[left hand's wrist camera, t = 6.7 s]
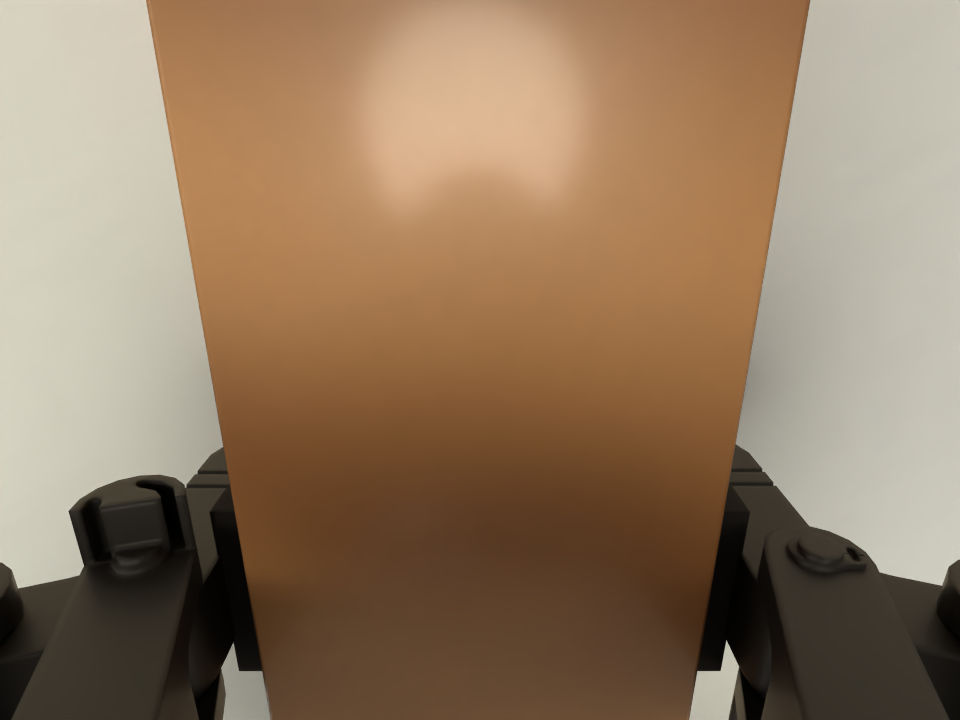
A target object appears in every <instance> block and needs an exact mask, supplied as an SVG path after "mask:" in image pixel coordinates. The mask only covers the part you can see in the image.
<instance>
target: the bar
mask: <svg viewBox="0 0 960 720" xmlns="http://www.w3.org/2000/svg"><path fill="white" fill-rule="evenodd" d="M146 2H147V8H148V14H149V19H150V25H151V31H152V37H153V42H154V48H155V54H156V60H157V66H158V71H159V77H160V83H161V89H162V94H163V100H164V106H165V112H166V118H167V123H168V129H169V135H170V141H171V146H172V152H173V158H174V164H175V169H176V175H177V181H178V187H179V193H180V198H181V204H182V210H183V216H184V221H185V227H186V233H187V239H188V245H189V250H190V256H191V262H192V268H193V273H194V279H195V285H196V291H197V296H198V302H199V308H200V314H201V320H202V325H203V331H204V337H205V343H206V348H207V354H208V360H209V366H210V372H211V377H212V383H213V389H214V395H215V400H216V406H217V412H218V418H219V424H220V429H221V435H222V441H223V447H224V452H225V458H226V464H227V470H228V475H229V481H230V487H231V493H232V499H233V504H234V510H235V516H236V522H237V527H238V533H239V539H240V545H241V551H242V556H243V562H244V568H245V574H246V579H247V585H248V591H249V597H250V603H251V608H252V614H253V620H254V626H255V631H256V637H257V643H258V649H259V654H260V660H261V666H262V672H263V678H264V683H265V689H266V695H267V701H268V706H269V712H270V718H271V720H689V717H690V711H691V705H692V699H693V693H694V687H695V681H696V675H697V669H698V663H699V657H700V651H701V645H702V639H703V634H704V628H705V622H706V616H707V610H708V604H709V598H710V592H711V586H712V580H713V574H714V568H715V562H716V556H717V550H718V544H719V539H720V533H721V527H722V521H723V515H724V509H725V503H726V497H727V491H728V485H729V479H730V473H731V467H732V461H733V455H734V449H735V444H736V438H737V432H738V426H739V420H740V414H741V408H742V402H743V396H744V390H745V384H746V378H747V372H748V366H749V360H750V354H751V349H752V343H753V337H754V331H755V325H756V319H757V313H758V307H759V301H760V295H761V289H762V283H763V277H764V271H765V265H766V259H767V254H768V248H769V242H770V236H771V230H772V224H773V218H774V212H775V206H776V200H777V194H778V188H779V182H780V176H781V170H782V164H783V158H784V153H785V147H786V141H787V135H788V129H789V123H790V117H791V111H792V105H793V99H794V93H795V87H796V81H797V75H798V69H799V63H800V58H801V52H802V46H803V40H804V34H805V28H806V22H807V16H808V10H809V4H810V0H146Z"/></svg>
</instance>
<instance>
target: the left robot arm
mask: <svg viewBox="0 0 960 720" xmlns="http://www.w3.org/2000/svg"><path fill="white" fill-rule="evenodd" d="M69 514H70V518H71V521H72V525H73V528H74V532H75V535H76V539H77V542H78V546H79V549H80V553H81V556H82V560H83V564H84V567H83V570H82V572H81V574H80V575H79V576H75V577H72V578H68V579H63V580H58V581H53V582H48V583H44V584H39V585H34V586H29V587H24V588H19V589H18V587H17V585H16V582H15V579H14V576H13V573H12V570H11V569H10V568H8V567H7V566H6V565H4V564H3V563H0V720H223V713H224V704H225V696H226V693H225V686H224V680H223V675H222V670H221V667H222V665H223V663H224V661H225V659H226V657H227V655H228V652H229V650H230V648H231V646H232V644H233V642H234V646H235V652H236V657H237V662H238V668H239V671H262V666H261V660H260V654H259V649H258V643H257V637H256V631H255V626H254V620H253V614H252V608H251V603H250V597H249V591H248V585H247V579H246V574H245V568H244V562H243V556H242V551H241V545H240V539H239V533H238V527H237V522H236V516H235V510H234V504H233V499H232V493H231V487H230V481H229V475H228V470H227V464H226V458H225V452H224V447H223V448H221V449H220V450H218V451H216V452H215V453H213V454H212V455H211V456H210V457H209V458H208V459H207V460H206V462H205V463H204V464H203V465H202V467H201V468H200V469H199V470H198V474H195V475H194V476H193V478H192V479H191V480H190V481H189V483H188V484H187V488H185V486H184V484H183V483H181V482H180V481H179V480H177V479H176V478H173V477H168V476H163V475H145V476H136V477H132V478H127V479H123V480H118V481H116V482H113V483H110V484H108V485H105V486H103V487H100V488H97V489H96V490H94V491H92V492H91V493H89V494H88V495H86V496H84V497H83V498H81V499H80V500H79V501H78V502H77V503H76V504H75V505H74V506H73V507H72V508H71V509H70V510H69ZM726 640H727V642H728V644H729V646H730V648H731V650H732V652H733V654H734V657H735V659H736V661H737V663H738V665H739V670H738V675H737V680H736V685H735V690H734V695H733V700H732V705H731V710H730V715H729V720H960V560H958V561H956V562H955V563H954V564H952V565H951V566H949V568H948V571H947V574H946V577H945V580H944V583H943V586H940V585H935V584H930V583H925V582H920V581H915V580H910V579H905V578H900V577H896V576H891V575H887V574H883V573H880V572H879V571H878V568H877V566H876V565H875V563H874V562H873V561H872V560H871V558H870V557H869V556H868V554H867V553H866V552H865V551H863V550H862V549H861V548H859V547H858V546H856V545H855V544H854V543H852V542H851V541H849V540H847V539H845V538H843V537H841V536H838V535H836V534H834V533H832V532H830V531H826V530H822V529H818V528H814V527H810V526H809V525H808V524H807V523H806V522H805V521H804V519H803V518H802V517H801V516H800V515H799V513H798V512H797V511H796V510H795V508H794V507H793V506H792V505H791V504H790V502H789V501H788V500H787V499H786V497H785V496H784V495H783V494H782V493H781V491H780V490H779V489H778V488H777V486H773V482H772V480H771V479H770V478H769V477H768V476H767V474H766V473H765V472H762V468H761V467H760V466H759V465H758V463H757V462H756V461H755V460H754V458H753V457H752V456H751V455H750V454H749V453H748V452H747V451H745V450H744V449H742V448H740V447H739V446H737V445H735V449H734V455H733V461H732V467H731V473H730V479H729V485H728V491H727V497H726V503H725V509H724V515H723V521H722V527H721V533H720V539H719V544H718V550H717V556H716V562H715V568H714V574H713V580H712V586H711V592H710V598H709V604H708V610H707V616H706V622H705V628H704V634H703V639H702V645H701V651H700V657H699V663H698V669H697V671H721V665H722V660H723V655H724V649H725V644H726Z"/></svg>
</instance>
